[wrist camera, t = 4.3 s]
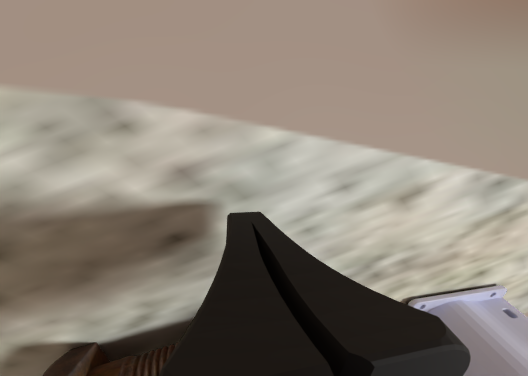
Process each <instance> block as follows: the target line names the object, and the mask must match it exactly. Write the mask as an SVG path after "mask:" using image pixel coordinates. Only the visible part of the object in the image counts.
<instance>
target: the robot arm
mask: <svg viewBox="0 0 528 376" xmlns="http://www.w3.org/2000/svg"><path fill="white" fill-rule="evenodd" d="M506 292H507V289H506V288H505V287H504V286H502V285H499V286H493V287H487V288H480V289H474V290H468V291H462V292H456V293H449V294H443V295H437V296H431V297H425V298H418V299H414V300H412V301H410V302H409V303H408V305H406V304H403V303H401V302H398V301H396V300H393V299H391V298H389V297H387V296H384V295H382V294H380V293H378V292H375V291H373V290H371V289H369V288H367V287H365V286H363V285H361V284H359V283H357V282H355V281H353V280H351V279H349V278H348V277H346V276H344V275H342V274H340V273H339V272H337V271H335V270H333V269H332V268H330V267H329V266H327V265H326V264H324V263H322V262H321V261H319V260H318V259H316V258H315V257H313V256H312V255H310V254H309V253H308V252H306V251H305V250H304V249H302V248H301V247H300V246H299V245H297V244H296V243H295V242H294V241H292V240H291V239H290V238H289V237H288V236H286V235H285V234H284V233H283V232H282V231H281V230H280V229H278V228H277V227H276V226H275V225H274V224H273V223H272V222H271V221H270V220H269V219H268V218H266V217H265V216H264V215H263V214H262V213H261V212H244V213H230V214H229V215H228V216H227V237H226V246H225V250H224V253H223V257H222V260H221V263H220V266H219V268H218V271H217V273H216V276H215V278H214V281H213V283H212V285H211V287H210V289H209V291H208V293H207V296H206V297H205V299H204V301H203V303H202V305H201V307H200V309H199V310H198V312H197V314H196V316H195V317H194V319H193V321H192V322H191V324H190V326H189V328H188V329H187V331H186V332H185V334H184V336H183V337H182V339H181V340H180V341H179V343H178V344H177V346H176V347H175V349H174V350H173V352H172V353H171V355H170V356H169V358H168V359H167V361H166V362H165V363H164V365H163V367H162V369H161V372H160V374H159V376H528V317H527V316H525V315H524V314H523V313H522V312H520V311H519V310H518V309H516V308H515V307H514V306H513V305H511V304H510V303H509V302H508V301H506V300H505V299H504V298H503V296H504V295H505V293H506Z"/></svg>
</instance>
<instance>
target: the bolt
mask: <svg viewBox="0 0 528 376" xmlns="http://www.w3.org/2000/svg"><path fill="white" fill-rule="evenodd" d="M178 343H179V342H177V343H176V346H177V344H178ZM176 346H175V345H174V344H172V345H170V346H169V348H168V347H167V346H165V347H163V349H161V348H159V349H156V351H154V350H152V351H150V352H149V353H148V352H147V353H143V354H142V355H136V356H128V357H124V358H121V359H118V360H115V361H112V362H110V361H109V359H108V358H107V356H106V355H105V354H104V352H103V351H102V349H101V348H100V346H99V345H98V344H97V343H92V344H89V345H85V346H82V347H78V348H75V349H72V350H70V351H69V352H67V353H66V354H64V355H63V356H62V357H60V358H59V359H58V360H57V361H55V362H54V363H53V364H52V365H51V366H50V367H49V368H48V369H47V370H46V372H45V373H44V374H43V376H159V374H160V372H161V369H162V367H163V365H164V363H165V362H166V361H167V359H168V358H169V356H170V355H171V353H172V352H173V350H174V349H175V347H176Z"/></svg>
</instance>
